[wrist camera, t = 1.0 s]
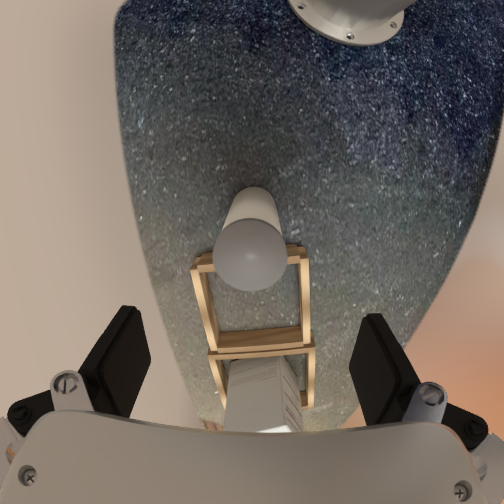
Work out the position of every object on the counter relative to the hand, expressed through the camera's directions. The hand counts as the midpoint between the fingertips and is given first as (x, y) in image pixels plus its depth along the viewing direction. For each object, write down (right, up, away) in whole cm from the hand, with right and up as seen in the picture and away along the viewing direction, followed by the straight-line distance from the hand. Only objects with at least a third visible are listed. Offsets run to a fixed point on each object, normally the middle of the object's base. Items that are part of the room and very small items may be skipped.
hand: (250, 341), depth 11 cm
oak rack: (+1, -7, +24) cm, 25 cm away
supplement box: (+2, -13, +27) cm, 29 cm away
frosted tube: (0, +8, +17) cm, 19 cm away
